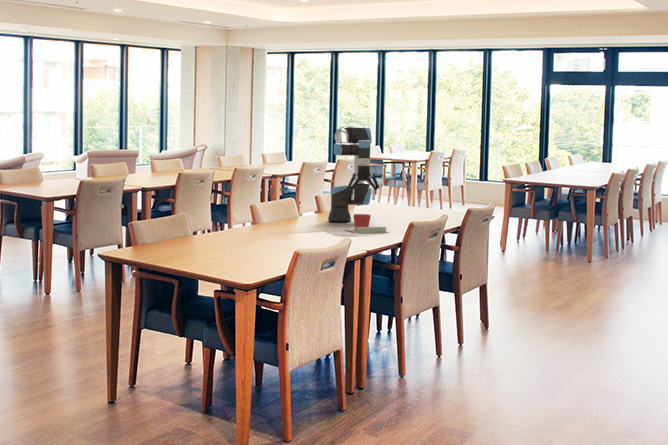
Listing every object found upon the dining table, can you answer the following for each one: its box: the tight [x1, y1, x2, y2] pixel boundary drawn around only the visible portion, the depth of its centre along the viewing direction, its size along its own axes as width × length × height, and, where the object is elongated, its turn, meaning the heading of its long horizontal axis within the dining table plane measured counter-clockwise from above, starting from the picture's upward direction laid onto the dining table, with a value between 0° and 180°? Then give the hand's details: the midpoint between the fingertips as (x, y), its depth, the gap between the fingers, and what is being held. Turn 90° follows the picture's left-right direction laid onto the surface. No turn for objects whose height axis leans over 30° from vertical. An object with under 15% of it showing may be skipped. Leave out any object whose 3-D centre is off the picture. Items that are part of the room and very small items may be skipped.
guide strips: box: [344, 229, 390, 234], centre depth 464 cm, size 18×22×1 cm
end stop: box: [355, 226, 387, 234], centre depth 455 cm, size 2×18×4 cm, turn 106°
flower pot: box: [353, 213, 372, 231], centre depth 472 cm, size 11×11×10 cm
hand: (363, 200), depth 471 cm, fingers open, 13 cm apart
